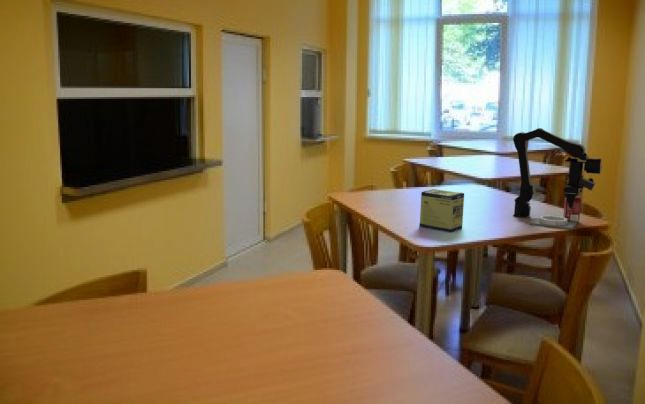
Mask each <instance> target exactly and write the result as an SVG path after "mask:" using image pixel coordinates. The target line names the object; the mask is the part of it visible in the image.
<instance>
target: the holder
mask: <svg viewBox="0 0 645 404" xmlns="http://www.w3.org/2000/svg"><path fill="white" fill-rule="evenodd" d="M577 223H578V222H567V218H564V217H563V216H557V215H541V216H539V217H534V218H532V220H531V221H530V222H529V223H528V224H529V225H532V226H540V227H547V228H555V229H556V228H557V229H564V230H572V231H573V230H574V228H575V227H576V226H577Z"/></svg>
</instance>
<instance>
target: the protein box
mask: <svg viewBox="0 0 645 404" xmlns="http://www.w3.org/2000/svg"><path fill="white" fill-rule="evenodd" d="M464 201H465V192H457V191H449V190H442V189H429V190H424V191H421V194H420V213H419V215H420V217H419V228H425V229H429V228H430V230H435V231H441V232H446V233H453V232H456V231H458V230H462V229H463V223H464V222H463V219H464Z"/></svg>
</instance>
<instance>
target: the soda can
mask: <svg viewBox="0 0 645 404" xmlns="http://www.w3.org/2000/svg"><path fill="white" fill-rule="evenodd" d="M581 205H582V199H581V196H580V195H577V196H576V197H575V200H574V203H573V207H572V208H570V207H569V205H568V202H567V199H566V197H565V198H564V208H563V216H562V217H564V218H567V222H576V223H578V222H580V215H581Z"/></svg>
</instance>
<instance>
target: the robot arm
mask: <svg viewBox="0 0 645 404" xmlns="http://www.w3.org/2000/svg"><path fill="white" fill-rule="evenodd" d="M512 138H513V140H512V141H513V144H514V148H515V149H516V152H517V158H518V167H519V174H520V188H519V196H517V197H516V198H514V211H513V215H512V216H513V217H519V218H528V217H530V215H531V209H532V208H531V207H532V206H531V203H530V202H531V201H532V199H534V198H535V197H536V193H537V190H536V183H533V182H532V180H531V172H530V163H529V155H528V149H529V141H530V140H534V139H537V138H540V139H541V140H543V141H546V142H547V143H550V144H552V145H553V146H556V147H558V148H559V149H562V150H563V151H564V152H565V153H567V154H568V155H569V156H568V157H567V159H564V161H565V163H568V164H569V166H568V173H567V183H566V186H565V187H564V188H563V194H564V196H565V198H566V199H567V202H568V205H569V207H570V208H572V207H573V203H574V200H575V197H576V196H577V195H578V196H580V193H581V192H582V191H583V189H584V188H585V189H587V190H589V191H593V189H594V187H595V185H596V182H595V180H594V178H592V177H590V178H588V179H587V178H586V177H584V174H583V171H584V172H585V173H586V174H593V175H601V172H602V158H600V157H599V158H592V157H591V158H590V157H589V156H588V154H587V152H586V147H585V146H584V145H583V144H582V143H577V142H573V141H569V140H566V139H564V138H562V137H560V136H558V135H555V134H553V133H552V132H549V131H547V130H545V129H543V128H542V127H541V128H540V127H538V128H535V129H534V130H531V131H528V132H523V131H522V132H517V133H516V134H515V135H514V136H513V137H512ZM572 157H573V158H572Z"/></svg>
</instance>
